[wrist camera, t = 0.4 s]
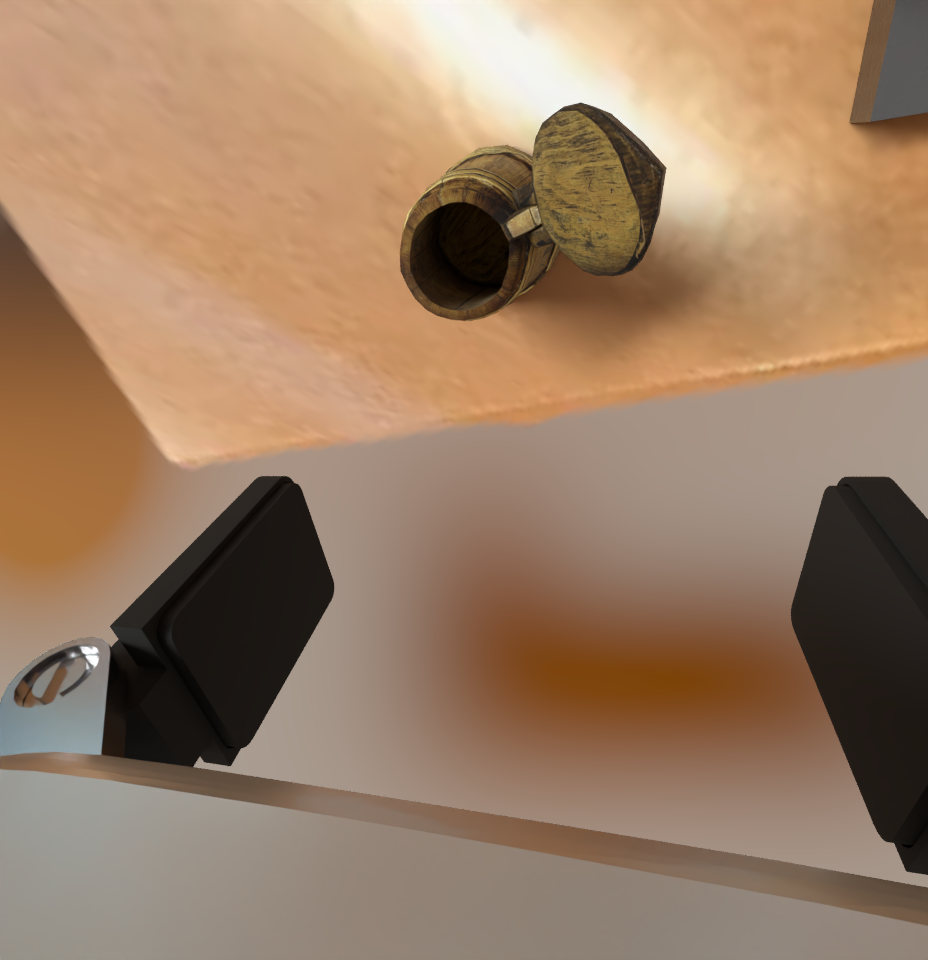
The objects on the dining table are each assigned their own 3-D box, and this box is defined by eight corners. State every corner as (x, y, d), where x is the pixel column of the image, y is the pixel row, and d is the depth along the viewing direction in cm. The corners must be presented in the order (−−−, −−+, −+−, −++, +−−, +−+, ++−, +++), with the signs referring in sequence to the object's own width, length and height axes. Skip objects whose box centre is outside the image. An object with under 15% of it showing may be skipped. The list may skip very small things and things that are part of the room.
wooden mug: (654, 230, 32) (706, 307, 18) (465, 319, 38) (383, 434, 23) (606, 70, 29) (621, -3, 14) (404, 194, 34) (261, 236, 19)
